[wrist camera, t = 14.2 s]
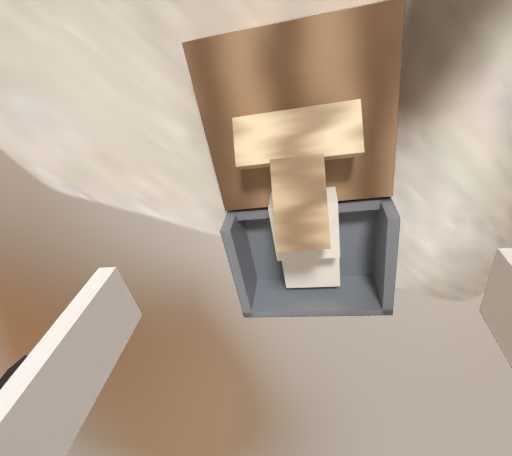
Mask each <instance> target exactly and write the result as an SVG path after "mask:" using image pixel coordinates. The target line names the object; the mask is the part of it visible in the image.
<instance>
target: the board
mask: <svg viewBox="0 0 512 456" xmlns="http://www.w3.org/2000/svg"><path fill="white" fill-rule="evenodd" d="M404 13H405V0H387V1H382V2H377V3H372V4H368V5H363V6H358V7H353V8H348V9H343V10H338V11H333V12H328V13H323V14H319V15H314V16H309V17H304V18H299V19H294V20H289V21H284V22H279V23H274V24H270V25H265V26H260V27H255V28H250V29H245V30H240V31H235V32H230V33H225V34H221V35H216V36H211V37H206V38H201V39H196V40H192V41H187V42H183V43H182V45H183V49H184V53H185V57H186V60H187V64H188V68H189V72H190V76H191V80H192V84H193V87H194V91H195V95H196V99H197V103H198V107H199V111H200V114H201V118H202V122H203V126H204V130H205V134H206V138H207V141H208V145H209V149H210V153H211V157H212V161H213V165H214V168H215V172H216V176H217V180H218V184H219V188H220V192H221V195H222V199H223V203H224V207H225V211H227V210H239V209H251V208H262V207H268V206H269V201H270V196H271V192H272V185H271V171H270V167H263V168H254V169H245V170H240V169H238V168H237V167H236V164H235V151H234V137H233V123H232V118H234V117H241V116H248V115H254V114H261V113H268V112H275V111H282V110H288V109H295V108H302V107H309V106H316V105H322V104H329V103H336V102H343V101H350V100H356V99H361V110H362V124H363V137H364V150H365V152H364V154H363V156H361V157H352V158H343V159H334V160H325V161H324V163H325V176H326V187H334V186H335V187H336V193H337V199H338V201H343V200H354V199H366V198H377V197H389V196H393V186H394V170H395V154H396V138H397V123H398V107H399V91H400V76H401V60H402V44H403V28H404Z"/></svg>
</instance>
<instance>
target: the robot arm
mask: <svg viewBox="0 0 512 456" xmlns="http://www.w3.org/2000/svg"><path fill="white" fill-rule="evenodd" d="M480 313H481V314H482V316H483V318H484V320H485V321H486V323H487V325H488V327H489V328H490V330H491V332H492V334H493V335H494V337H495V339H496V341H497V343H498V344H499V346H500V348H501V350H502V352H503V353H504V355H505V357H506V358H507V360H508V362H509V364H510V366H511V367H512V248H498V249H497V253H496V256H495V259H494V263H493V266H492V270H491V273H490V276H489V280H488V283H487V287H486V290H485V293H484V297H483V300H482V304H481V307H480ZM141 316H142V314H141V312H140V311H139V309H138V307H137V305H136V303H135V301H134V299H133V297H132V296H131V294H130V292H129V290H128V288H127V286H126V284H125V282H124V281H123V279H122V277H121V275H120V273H119V271H118V270H117V268H116V267H107V268H99V269H98V270H97V271H96V272H95V273H94V275H93V276H92V277H91V278H90V280H89V281H88V282H87V284H86V285H85V286H84V287H83V288H82V290H81V291H80V292H79V293H78V294H77V296H76V297H75V298H74V299H73V301H72V302H71V303H70V304H69V306H68V307H67V308H66V309H65V311H64V312H63V313H62V314H61V316H60V317H59V318H58V319H57V320H56V322H55V323H54V324H53V325H52V327H51V328H50V329H49V330H48V332H47V333H46V334H45V335H44V336H43V338H42V339H41V340H40V342H39V343H38V344H37V345H36V347H35V348H34V349H33V350H32V351H31V353H30V354H29V355H28V356H27V355H25V356H24V357H23V358H21V359H20V360H19V361H18V362H17V363H15V364H14V365H13V366H12V367H11V368H9V369H8V370H7V372H6V373H5V374H4V375H3V376H2V377H1V379H0V456H65V455H66V454H67V452H68V450H69V448H70V446H71V444H72V443H73V441H74V439H75V437H76V435H77V433H78V432H79V430H80V428H81V426H82V424H83V422H84V420H85V419H86V417H87V415H88V413H89V411H90V410H91V408H92V406H93V404H94V402H95V400H96V399H97V397H98V395H99V393H100V391H101V389H102V388H103V386H104V384H105V382H106V380H107V378H108V376H109V375H110V373H111V371H112V369H113V367H114V365H115V364H116V362H117V360H118V358H119V356H120V354H121V353H122V350H123V349H124V347H125V345H126V343H127V342H128V340H129V338H130V336H131V334H132V332H133V331H134V329H135V327H136V325H137V323H138V321H139V320H140V318H141Z"/></svg>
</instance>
